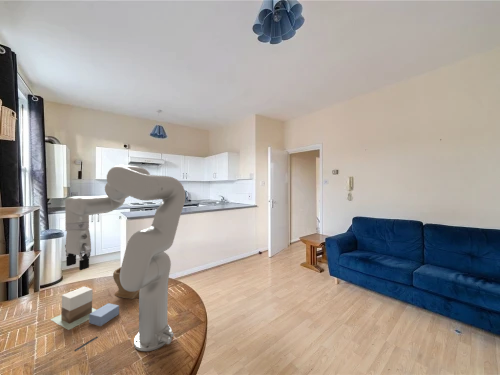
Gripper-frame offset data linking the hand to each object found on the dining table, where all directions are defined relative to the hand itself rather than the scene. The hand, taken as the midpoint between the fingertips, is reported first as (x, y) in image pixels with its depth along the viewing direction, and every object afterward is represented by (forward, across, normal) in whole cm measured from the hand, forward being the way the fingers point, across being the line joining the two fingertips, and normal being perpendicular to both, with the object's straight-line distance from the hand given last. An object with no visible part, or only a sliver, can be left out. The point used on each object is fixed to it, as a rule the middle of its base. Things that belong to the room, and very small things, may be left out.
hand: (77, 266), depth 85 cm
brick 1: (+16, 0, 0) cm, 16 cm away
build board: (+22, 0, 0) cm, 22 cm away
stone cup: (+22, -3, -21) cm, 31 cm away
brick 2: (+21, 0, 0) cm, 21 cm away
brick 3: (+22, -12, -4) cm, 25 cm away
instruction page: (+22, -15, +6) cm, 27 cm away
